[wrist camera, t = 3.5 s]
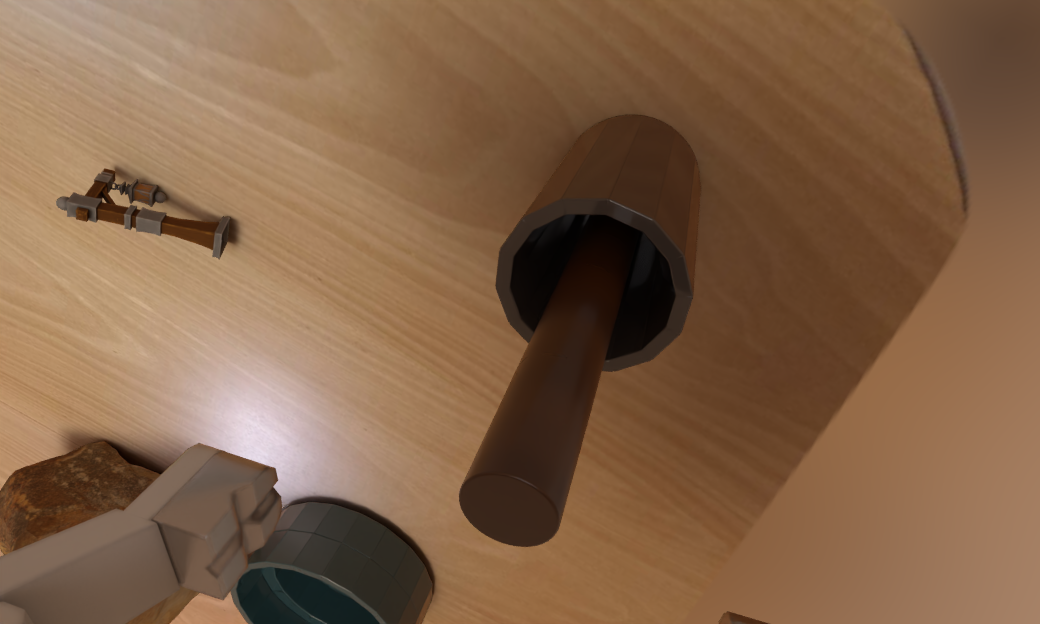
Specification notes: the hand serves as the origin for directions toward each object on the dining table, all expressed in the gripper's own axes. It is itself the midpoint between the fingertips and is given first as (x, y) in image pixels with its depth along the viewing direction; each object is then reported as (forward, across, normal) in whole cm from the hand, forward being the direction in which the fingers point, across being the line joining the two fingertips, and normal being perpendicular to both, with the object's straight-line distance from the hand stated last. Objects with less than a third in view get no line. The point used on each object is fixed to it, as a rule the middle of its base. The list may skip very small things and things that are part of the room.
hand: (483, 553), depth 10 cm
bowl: (+20, +15, +36) cm, 44 cm away
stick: (+19, 0, 0) cm, 19 cm away
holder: (+20, 0, 0) cm, 20 cm away
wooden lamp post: (+20, +25, +7) cm, 33 cm away
